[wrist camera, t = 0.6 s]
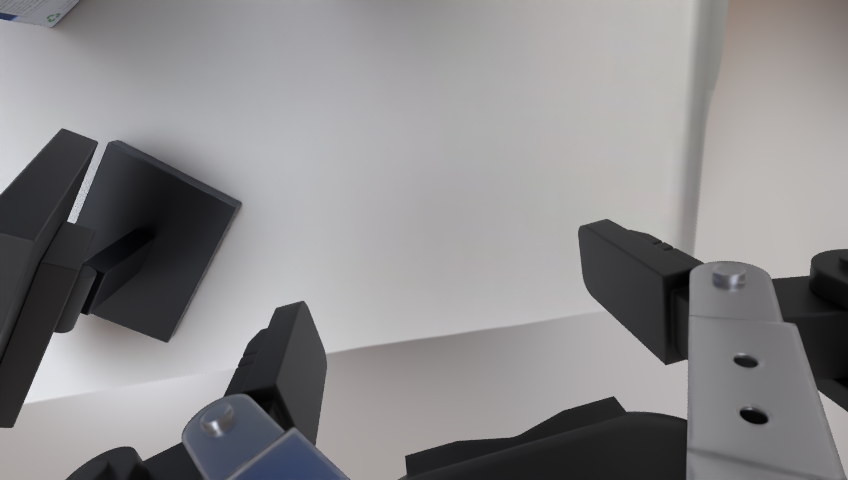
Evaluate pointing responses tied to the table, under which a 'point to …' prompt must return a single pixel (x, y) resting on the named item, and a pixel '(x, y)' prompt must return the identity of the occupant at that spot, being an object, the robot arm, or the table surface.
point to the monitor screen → (41, 262)
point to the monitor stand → (149, 239)
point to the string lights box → (35, 11)
